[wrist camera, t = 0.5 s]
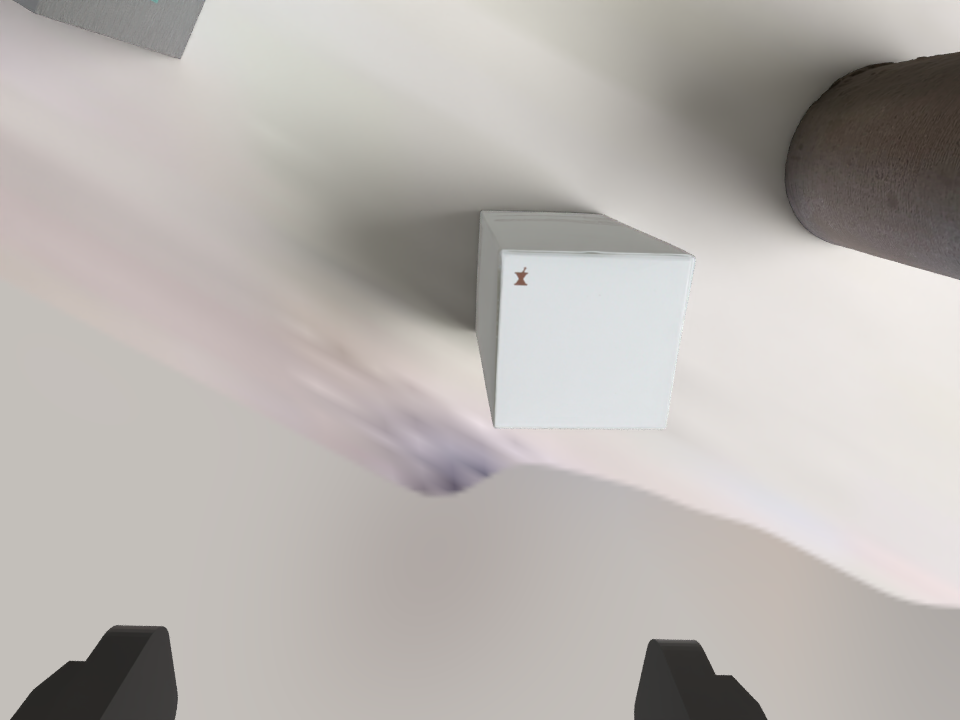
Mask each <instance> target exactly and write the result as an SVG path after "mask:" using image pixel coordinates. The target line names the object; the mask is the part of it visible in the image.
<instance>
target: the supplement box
mask: <svg viewBox="0 0 960 720" xmlns="http://www.w3.org/2000/svg"><path fill="white" fill-rule="evenodd" d="M695 262H696V258H695V256H694V255H692V254H690V253H688V252H686V251H684V250H682V249H680V248H678V247H676V246H673V245H671V244H669V243H667V242H665V241H662V240H660V239H658V238H655V237H653V236H651V235H648V234H646V233H644V232H641V231H639V230H637V229H634V228H632V227H630V226H628V225H625V224H623V223H621V222H618V221H617V220H615V219H612V218H610V217H608V216H606V215H602V214H586V213H562V212H525V211H485V210H483V211H481V212H480V228H479V248H478V267H477V294H476V336H477V340H478V346H479V351H480V357H481V362H482V368H483V374H484V380H485V385H486V390H487V396H488V401H489V406H490V412H491V417H492V422H493V426H494V427H495V428H499V429H642V430H664V429H666V426H667V419H668V413H669V406H670V400H671V394H672V388H673V381H674V375H675V369H676V363H677V357H678V351H679V346H680V341H681V336H682V330H683V325H684V320H685V315H686V309H687V304H688V299H689V293H690V288H691V282H692V277H693V272H694V267H695Z"/></svg>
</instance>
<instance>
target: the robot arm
mask: <svg viewBox="0 0 960 720" xmlns="http://www.w3.org/2000/svg"><path fill="white" fill-rule="evenodd" d="M177 696H178V695H177V686H176V680H175V673H174V666H173V659H172V652H171V646H170V639H169V633H168V631H167V629H166V628H165V627H163V626H123V625H122V626H121V625H116V626H113V627H112V628H110V629H109V630H108V631H107V632H106V633H105V635H104V636H103V637H102V639H101V640H100V641H99V643H98V644H97V646H96V647H95V649H94V650H93V652H92V653H91V654H90V656H89V657H88V658H87V660H86V661H69V662H67V663H66V664H65V665H64V666H62V667H61V668H60V669H59V670H57V671H56V672H55V673H54V674H52V675H51V676H50V677H49V678H47V679H46V680H45V681H44V682H42V683H41V684H40V685H39V686H37V687H36V688H35V689H34V690H33V691H32V692H31V693H30V694H29V696H28V697H27V698H26V700H25V701H24V702H23V704H22V705H21V706H20V708H19V709H18V710H17V712H16V713H15V714H14V715H13V717H12V718H11V719H10V720H175V715H176V710H177V701H178V697H177ZM634 720H767V718H766V716H765V714H764V712H763V711H762V709H761V707H760V705H759V703H758V702H757V701H756V700H755V699H754V698H753V697H752V696H751V695H750V694H749V693H748V692H747V691H746V690H745V689H744V688H743V687H742V686H741V685H740V684H739V683H738V681H737V680H736V679H735V678H734V677H733V676H732V675H715V673H714V670H713V668H712V666H711V664H710V662H709V660H708V658H707V656H706V654H705V652H704V650H703V648H702V647H701V645H700V644H699V643H698V642H697V641H695V640H664V639H663V640H662V639H652V640H651V641H650V642H649V644H648V647H647V651H646V655H645V660H644V665H643V669H642V673H641V678H640V683H639V687H638V691H637V696H636V701H635V709H634Z"/></svg>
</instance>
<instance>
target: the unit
mask: <svg viewBox="0 0 960 720" xmlns="http://www.w3.org/2000/svg"><path fill="white" fill-rule="evenodd" d="M14 1H15V2H17V3H19V4H20V5H22V6H23V7H25V8H27V9H28V10H30V11H32V12H33V13H35V14H38V15H41V16H45V17H48V18H51V19H54V20H57V21H60V22H64V23H67V24H70V25H73V26H76V27H80V28H83V29H86V30H89V31H92V32H96V33H99V34H102V35H105V36H108V37H111V38H115V39H118V40H121V41H124V42H127V43H131V44H134V45H137V46H140V47H143V48H146V49H150V50H153V51H156V52H159V53H162V54H166V55H169V56H172V57H175V58H178V59H180V58H181V56H182V53H183V51H184V49H185V46H186V44H187V42H188V39H189V37H190V35H191V32H192V30H193V28H194V25H195V23H196V21H197V18H198V16H199V14H200V11H201V9H202V7H203V4H204V2H205V0H14Z"/></svg>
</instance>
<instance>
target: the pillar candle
mask: <svg viewBox="0 0 960 720" xmlns="http://www.w3.org/2000/svg"><path fill="white" fill-rule="evenodd" d="M785 184H786V192H787V195H788V198H789V202H790V205H791V207H792V209H793V211H794V213H795V215H796V216H797V218H798V219H799V221H800V222H801V223H802V225H803V226H804V227H805V228H806V229H808V230H809V231H810V232H811V233H812V234H814V235H815V236H817V237H819V238H821V239H822V240H824V241H827V242H829V243H832V244H835V245H839V246H843V247H847V248H850V249H854V250H857V251H860V252H864V253H867V254H870V255H873V256H877V257H880V258H884V259H888V260H891V261H895V262H898V263H902V264H905V265H909V266H912V267H916V268H919V269H923V270H927V271H930V272H934V273H937V274H941V275H944V276H948V277H951V278H955V279H959V280H960V52H955V53H949V54H944V55H935V56H930V57H918V58H917V59H915V60H913V59H912V60H909V61H905V62H899V63H893V62H889V63H881V64H874V65H870V66H867V67H864V68H861V69H858V70H856V71H853V72H851V73H849V74H847V75H846V76H844V77H842V78H840V79H838V80H837V81H836V82H834V84H832V86H831V87H830V88H829V89H828V90H827V91H826V92H825V93H824V94H823V95H822V96H821V97H820V98H819V99H818V100H817V101H815V102H814V103H813V104H812V106H811V107H810V108H809V110H808V111H807V113H806V114H805V116H804V117H803V119H802V120H801V122H800V124H799V126H798V128H797V130H796V132H795V134H794V136H793V139H792V142H791V145H790V148H789V152H788V158H787V162H786V169H785Z"/></svg>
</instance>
